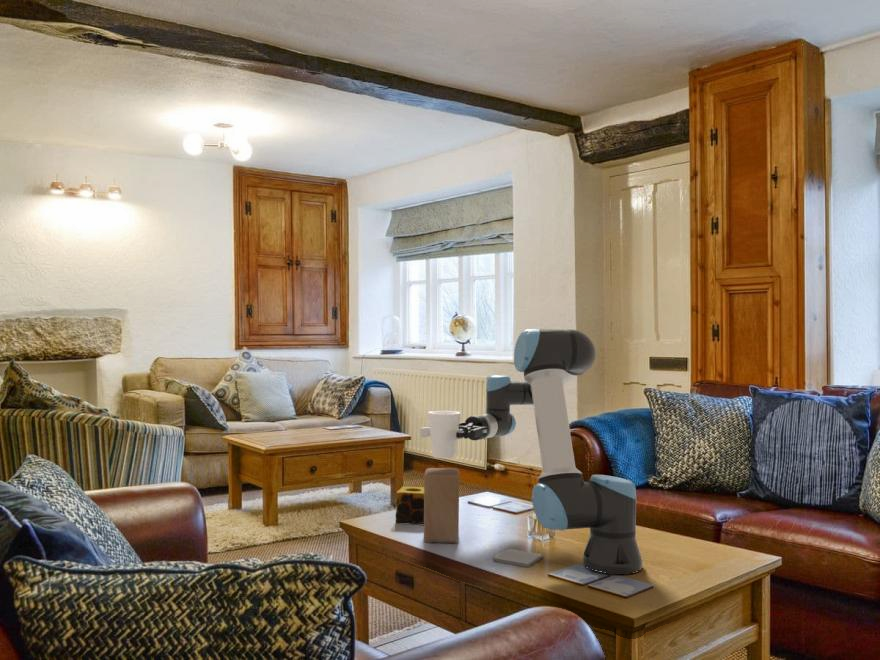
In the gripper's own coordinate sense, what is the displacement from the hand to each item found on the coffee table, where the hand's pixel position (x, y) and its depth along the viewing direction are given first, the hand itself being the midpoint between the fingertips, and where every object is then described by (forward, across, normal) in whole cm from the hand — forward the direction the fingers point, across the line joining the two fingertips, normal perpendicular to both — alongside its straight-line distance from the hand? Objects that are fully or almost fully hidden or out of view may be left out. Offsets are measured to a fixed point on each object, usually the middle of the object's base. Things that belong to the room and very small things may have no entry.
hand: (434, 434), depth 223 cm
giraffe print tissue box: (-14, +20, -31) cm, 40 cm away
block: (-4, 0, -31) cm, 31 cm away
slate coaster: (-2, -28, -31) cm, 42 cm away
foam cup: (-5, 0, -7) cm, 9 cm away
